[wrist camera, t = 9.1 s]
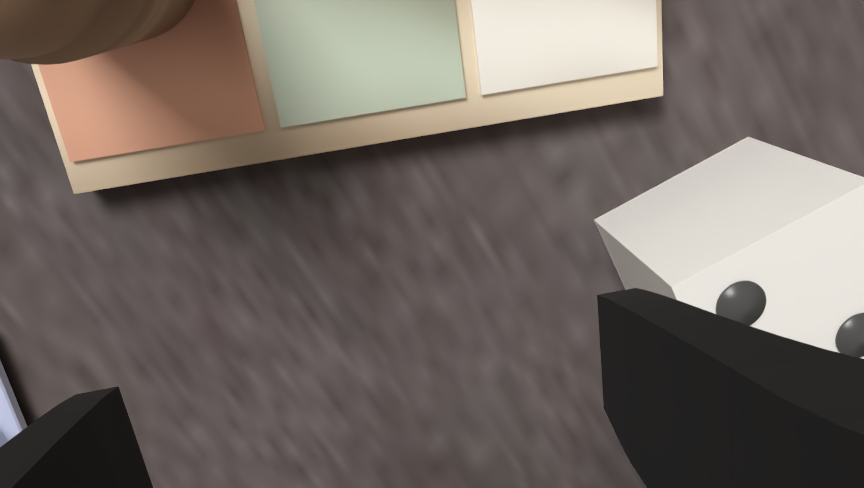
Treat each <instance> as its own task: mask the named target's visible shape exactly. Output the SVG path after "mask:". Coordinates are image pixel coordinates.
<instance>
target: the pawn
mask: <svg viewBox="0 0 864 488" xmlns="http://www.w3.org/2000/svg"><path fill="white" fill-rule="evenodd" d="M194 1H195V0H0V59H10V60H13V61H17V62H23V63H28V64H41V65H51V64H63V63H68V62H72V61H77V60H80V59H84V58H87V57H91V56H94V55H98V54H101V53H104V52H108V51H111V50H115V49H118V48H121V47H125V46H128V45H132V44H135V43H138V42H142V41H145V40H149V39H152V38H154V37H157V36H160V35H162V34H163V33H165V32H167V31H169V30H170V29H172V28H173V27H174V26H176V25H177V24H178V23H179V22H180V21H181V20H182V19H183V18H184V17H185V15H186V14H187V13H188V11H189V10H190V8H191V7H192V5H193V3H194Z"/></svg>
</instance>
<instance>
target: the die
mask: <svg viewBox="0 0 864 488" xmlns="http://www.w3.org/2000/svg"><path fill="white" fill-rule="evenodd" d="M594 221H595V224H596V226H597V228H598V230H599V232H600V235H601V237H602V239H603V241H604V243H605V246H606V248H607V250H608V252H609V255H610V257H611V259H612V261H613V263H614V266H615V268H616V270H617V272H618V274H619V277H620V279H621V281H622V283H623V285H624V288H625V290H627V289H632V288H639V289H643V290H647V291H651V292H654V293H657V294H661V295H664V296H667V297H669V298H672V299H675V300H678V301H681V302H684V303H687V304H689V305H692V306H695V307H698V308H700V309H703V310H706V311H709V312H711V313H714V314H717V315H720V316H723V317H725V318H728V319H731V320H734V321H737V322H740V323H743V324H746V325H748V326H751V327H754V328H757V329H760V330H763V331H767V332H770V333H773V334H776V335H779V336H782V337H786V338H789V339H792V340H796V341H799V342H802V343H806V344H809V345H812V346H816V347H819V348H823V349H826V350H830V351H834V352H838V353H842V354H845V355H849V356H853V357H858V358H862V359H864V177H861V176H858V175H855V174H853V173H850V172H847V171H844V170H841V169H838V168H836V167H833V166H830V165H827V164H824V163H821V162H819V161H816V160H813V159H810V158H807V157H804V156H801V155H799V154H796V153H793V152H790V151H787V150H784V149H782V148H779V147H776V146H773V145H770V144H767V143H765V142H762V141H759V140H756V139H753V138H750V137H747V138H745V139H743V140H741V141H739V142H737V143H736V144H734V145H732V146H730V147H728V148H726V149H724V150H723V151H721V152H719V153H717V154H715V155H713V156H711V157H710V158H708V159H706V160H704V161H702V162H700V163H699V164H697V165H695V166H693V167H691V168H689V169H687V170H686V171H684V172H682V173H680V174H678V175H676V176H674V177H673V178H671V179H669V180H667V181H665V182H663V183H661V184H660V185H658V186H656V187H654V188H652V189H650V190H648V191H647V192H645V193H643V194H641V195H639V196H637V197H635V198H634V199H632V200H630V201H628V202H626V203H624V204H622V205H621V206H619V207H617V208H615V209H613V210H611V211H609V212H608V213H606V214H604V215H602V216H600V217H598V218H596V219H595V220H594Z"/></svg>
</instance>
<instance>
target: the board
mask: <svg viewBox="0 0 864 488" xmlns="http://www.w3.org/2000/svg"><path fill="white" fill-rule="evenodd" d="M31 65H32V68H33V71H34V74H35V77H36V80H37V83H38V87H39V90H40V93H41V96H42V99H43V102H44V105H45V108H46V111H47V114H48V117H49V120H50V123H51V126H52V129H53V132H54V135H55V138H56V141H57V144H58V147H59V150H60V153H61V156H62V159H63V162H64V165H65V168H66V171H67V174H68V177H69V180H70V183H71V186H72V189H73V192H74V194H77V193H83V192H89V191H95V190H101V189H107V188H113V187H119V186H125V185H131V184H137V183H143V182H149V181H155V180H161V179H167V178H173V177H179V176H185V175H191V174H197V173H203V172H209V171H215V170H221V169H227V168H233V167H239V166H245V165H251V164H257V163H263V162H269V161H275V160H281V159H287V158H293V157H299V156H305V155H311V154H317V153H323V152H329V151H335V150H341V149H347V148H353V147H359V146H365V145H371V144H377V143H383V142H389V141H395V140H401V139H407V138H413V137H419V136H425V135H431V134H437V133H443V132H449V131H455V130H461V129H467V128H473V127H479V126H485V125H491V124H497V123H503V122H509V121H515V120H521V119H527V118H533V117H539V116H545V115H550V114H556V113H562V112H568V111H574V110H580V109H586V108H592V107H598V106H604V105H610V104H616V103H622V102H628V101H634V100H640V99H646V98H652V97H658V96H663V62H662V12H661V0H195V1H194V3H193V5H192V7H191V8H190V10H189V11H188V13H187V14H186V15H185V17H184V18H183V19H182V20H181V21H180V22H179V23H178V24H177V25H176V26H174V27H173V28H172V29H170V30H169V31H167V32H165V33H163V34H162V35H160V36H157V37H154V38H152V39H149V40H145V41H142V42H138V43H135V44H132V45H128V46H125V47H121V48H118V49H115V50H111V51H108V52H104V53H101V54H98V55H94V56H91V57H87V58H84V59H80V60H77V61H72V62H68V63H63V64H51V65H41V64H31Z"/></svg>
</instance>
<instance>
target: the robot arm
mask: <svg viewBox="0 0 864 488" xmlns="http://www.w3.org/2000/svg"><path fill="white" fill-rule="evenodd" d="M597 298H598V315H599V332H600V349H601V366H602V383H603V400H604V409H605V412H606V414H607V416H608V418H609V420H610V422H611V424H612V426H613V428H614V431H615V433H616V435H617V437H618V439H619V441H620V443H621V445H622V447H623V449H624V451H625V453H626V455H627V457H628V458H629V460H630V462H631V464H632V465H633V467H634V468H635V470H636V471H637V473H638V474H639V476H640V477H641V479H642V480H643V482H644V483H645V485H646V486H647V488H864V359H862V358H858V357H853V356H849V355H845V354H842V353H838V352H834V351H830V350H826V349H823V348H819V347H816V346H812V345H809V344H806V343H802V342H799V341H796V340H792V339H789V338H786V337H782V336H779V335H776V334H773V333H770V332H767V331H763V330H760V329H757V328H754V327H751V326H748V325H746V324H743V323H740V322H737V321H734V320H731V319H728V318H725V317H723V316H720V315H717V314H714V313H711V312H709V311H706V310H703V309H700V308H698V307H695V306H692V305H689V304H687V303H684V302H681V301H678V300H675V299H672V298H669V297H667V296H664V295H661V294H657V293H654V292H651V291H647V290H643V289H639V288H632V289H627V290H622V291H616V292H611V293H606V294H601V295H597ZM0 488H153V486H152V483H151V480H150V477H149V475H148V472H147V469H146V466H145V463H144V460H143V457H142V454H141V451H140V448H139V445H138V442H137V440H136V437H135V434H134V431H133V428H132V425H131V422H130V419H129V416H128V413H127V410H126V407H125V405H124V402H123V399H122V396H121V393H120V390H119V387H113V388H108V389H103V390H98V391H92V392H87V393H82V394H77V395H74V396H72V397H71V398H69V399H67V400H65V401H64V402H62V403H60V404H59V405H57V406H56V407H54V408H53V409H51V410H50V411H48V412H47V413H46V414H44V415H43V416H41V417H40V418H39V419H37V420H36V421H35V422H33V423H32V424H30V425H29V426H28V427H27V425H26V422H25V420H24V417H23V415H22V412H21V410H20V407H19V405H18V402H17V400H16V397H15V395H14V392H13V390H12V388H11V385H10V383H9V380H8V378H7V375H6V373H5V370H4V368H3V365H2V363H1V360H0Z"/></svg>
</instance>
